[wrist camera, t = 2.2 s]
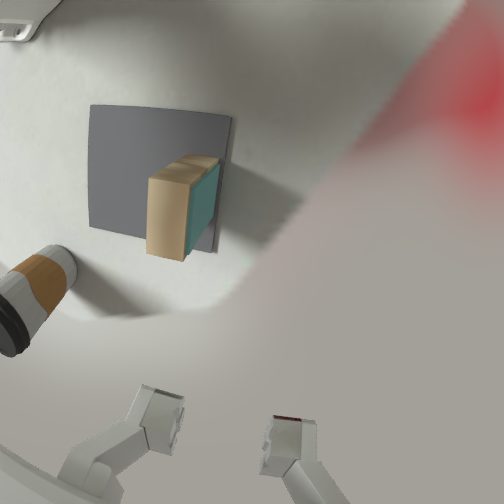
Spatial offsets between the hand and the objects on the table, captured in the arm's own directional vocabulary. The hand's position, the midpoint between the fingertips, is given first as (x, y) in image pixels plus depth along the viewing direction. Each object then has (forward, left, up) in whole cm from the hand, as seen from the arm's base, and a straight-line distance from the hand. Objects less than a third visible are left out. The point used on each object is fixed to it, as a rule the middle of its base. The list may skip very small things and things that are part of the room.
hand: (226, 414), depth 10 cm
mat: (-12, 0, -23) cm, 26 cm away
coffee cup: (-26, -14, -23) cm, 38 cm away
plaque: (-7, 0, -23) cm, 24 cm away
